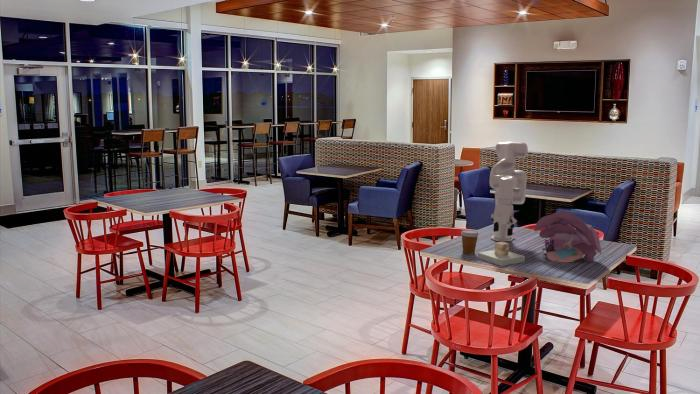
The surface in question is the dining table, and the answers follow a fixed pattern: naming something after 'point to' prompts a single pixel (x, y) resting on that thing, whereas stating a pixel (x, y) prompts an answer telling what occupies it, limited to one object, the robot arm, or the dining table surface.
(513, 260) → the sage stand
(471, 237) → the disposable coffee cup
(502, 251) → the maple block
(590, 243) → the purple clam shell
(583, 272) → the dining table surface
